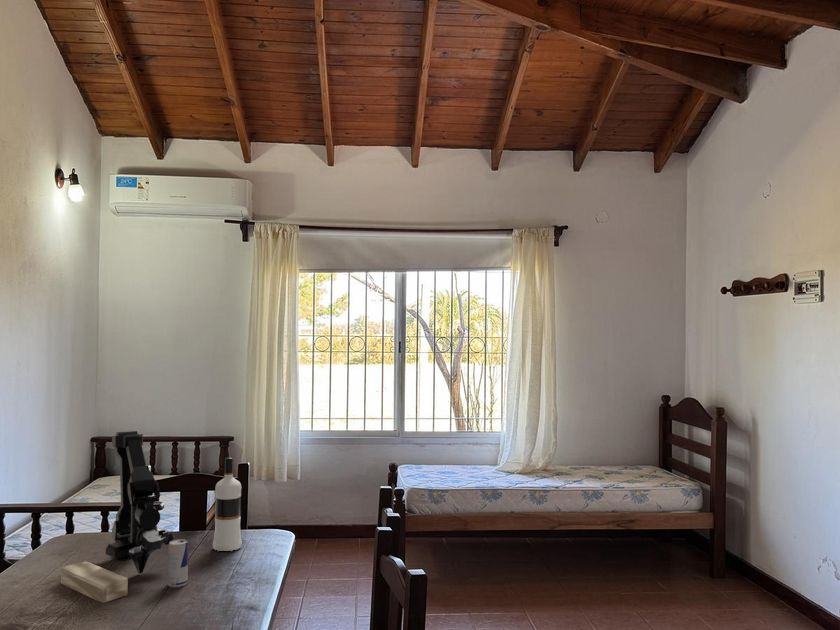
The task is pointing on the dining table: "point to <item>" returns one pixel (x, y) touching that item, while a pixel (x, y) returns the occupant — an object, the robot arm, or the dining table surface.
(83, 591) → the cream rounded block
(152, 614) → the dining table surface
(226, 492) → the vodka
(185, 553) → the energy drink
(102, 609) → the dining table surface
